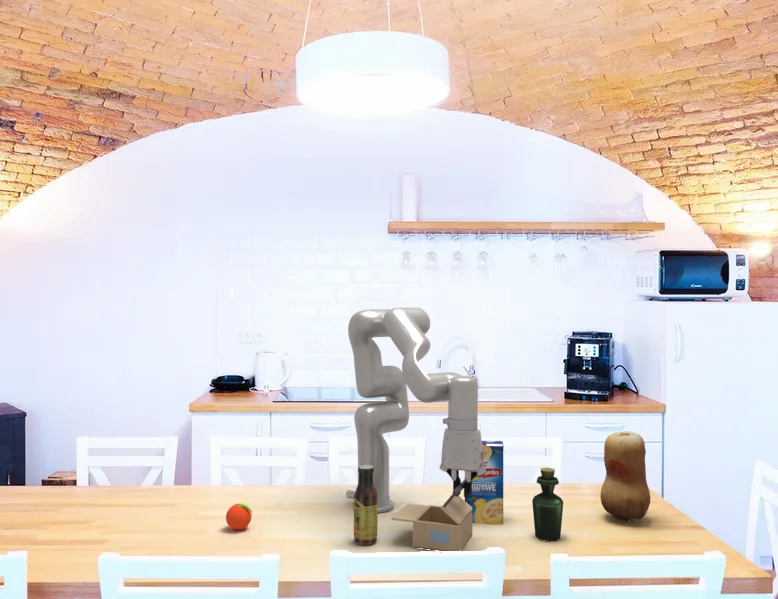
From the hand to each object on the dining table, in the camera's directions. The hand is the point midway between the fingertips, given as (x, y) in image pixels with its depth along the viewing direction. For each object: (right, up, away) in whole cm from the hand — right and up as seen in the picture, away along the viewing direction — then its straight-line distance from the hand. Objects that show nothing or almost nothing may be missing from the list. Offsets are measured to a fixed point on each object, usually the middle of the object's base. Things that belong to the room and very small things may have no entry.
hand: (462, 495), depth 173 cm
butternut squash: (+49, -13, +19) cm, 54 cm away
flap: (-2, -4, +1) cm, 4 cm away
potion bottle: (+23, -13, +5) cm, 27 cm away
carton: (-8, -13, +3) cm, 15 cm away
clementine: (-60, -13, +12) cm, 62 cm away
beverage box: (+8, -13, +19) cm, 25 cm away
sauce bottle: (-25, -13, +2) cm, 28 cm away
